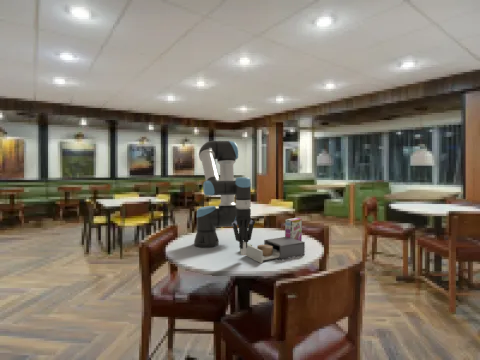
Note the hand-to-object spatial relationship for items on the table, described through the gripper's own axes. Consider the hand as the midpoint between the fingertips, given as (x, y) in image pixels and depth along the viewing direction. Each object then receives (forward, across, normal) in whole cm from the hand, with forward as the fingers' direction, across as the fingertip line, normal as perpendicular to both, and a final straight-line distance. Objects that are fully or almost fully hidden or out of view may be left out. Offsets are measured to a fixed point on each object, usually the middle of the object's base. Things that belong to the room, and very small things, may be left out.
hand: (243, 254), depth 147 cm
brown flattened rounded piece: (+2, +13, 0) cm, 13 cm away
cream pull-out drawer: (+3, +14, 0) cm, 14 cm away
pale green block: (+3, +10, +14) cm, 18 cm away
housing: (+3, +26, 0) cm, 26 cm away
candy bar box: (+4, +41, +10) cm, 42 cm away
